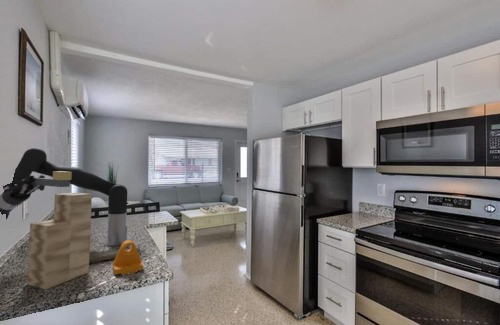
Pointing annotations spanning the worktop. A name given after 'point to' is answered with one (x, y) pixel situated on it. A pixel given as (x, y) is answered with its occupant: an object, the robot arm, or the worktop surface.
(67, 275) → the block
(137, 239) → the worktop surface
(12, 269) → the worktop surface
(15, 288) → the worktop surface
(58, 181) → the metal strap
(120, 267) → the bracket
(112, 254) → the long grey stone
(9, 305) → the worktop surface
